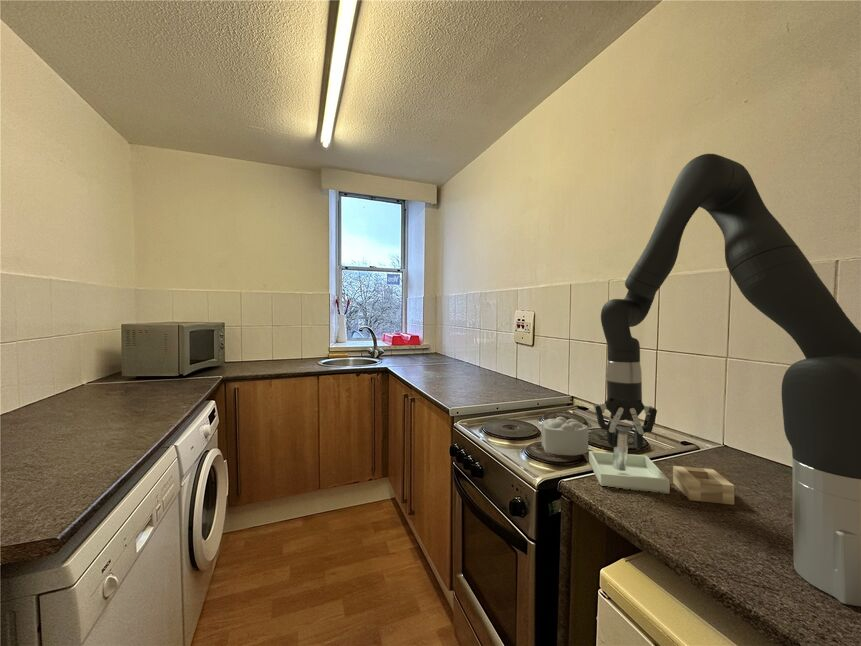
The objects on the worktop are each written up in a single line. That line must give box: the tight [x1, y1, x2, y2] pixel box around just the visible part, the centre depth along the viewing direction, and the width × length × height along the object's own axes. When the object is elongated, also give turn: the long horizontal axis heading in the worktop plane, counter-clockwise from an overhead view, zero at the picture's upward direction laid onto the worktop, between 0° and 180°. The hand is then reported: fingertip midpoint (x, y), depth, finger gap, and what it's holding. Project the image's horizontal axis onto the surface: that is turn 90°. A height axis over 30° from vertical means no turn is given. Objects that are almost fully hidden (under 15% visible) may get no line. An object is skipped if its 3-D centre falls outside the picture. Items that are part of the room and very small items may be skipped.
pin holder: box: [672, 465, 735, 505], centre depth 74 cm, size 8×8×4 cm
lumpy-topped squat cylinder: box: [540, 416, 589, 456], centre depth 101 cm, size 10×13×9 cm
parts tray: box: [588, 450, 671, 495], centre depth 83 cm, size 14×14×3 cm
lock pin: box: [612, 421, 634, 471], centre depth 83 cm, size 4×4×11 cm
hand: (624, 446), depth 83 cm, fingers open, 5 cm apart
